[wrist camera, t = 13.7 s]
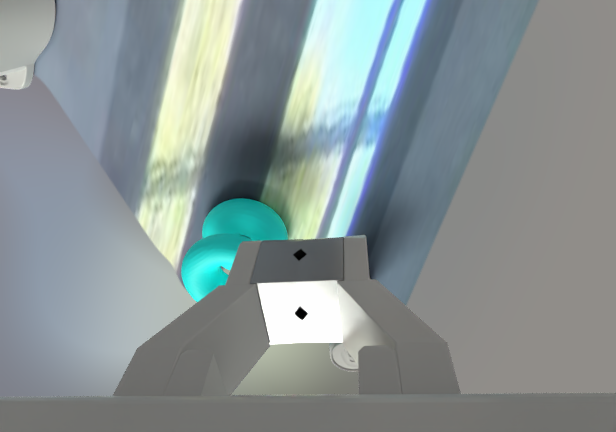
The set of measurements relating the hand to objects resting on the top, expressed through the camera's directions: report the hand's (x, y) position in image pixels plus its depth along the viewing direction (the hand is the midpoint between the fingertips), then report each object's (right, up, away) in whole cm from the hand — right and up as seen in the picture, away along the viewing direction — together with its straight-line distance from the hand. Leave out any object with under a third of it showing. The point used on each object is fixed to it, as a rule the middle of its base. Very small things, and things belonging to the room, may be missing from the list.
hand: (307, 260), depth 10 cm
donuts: (-7, 0, +40) cm, 40 cm away
